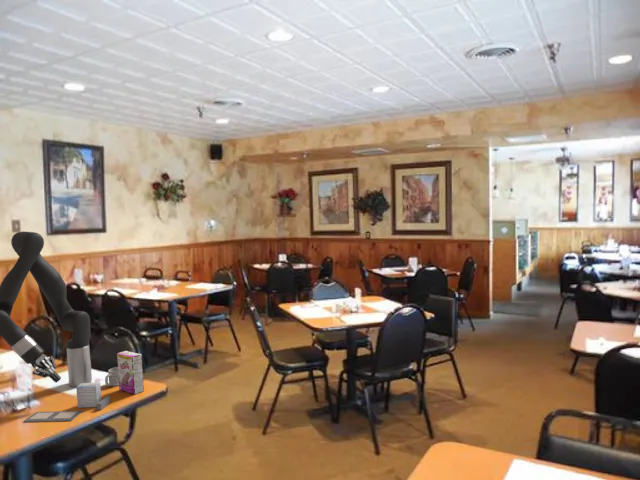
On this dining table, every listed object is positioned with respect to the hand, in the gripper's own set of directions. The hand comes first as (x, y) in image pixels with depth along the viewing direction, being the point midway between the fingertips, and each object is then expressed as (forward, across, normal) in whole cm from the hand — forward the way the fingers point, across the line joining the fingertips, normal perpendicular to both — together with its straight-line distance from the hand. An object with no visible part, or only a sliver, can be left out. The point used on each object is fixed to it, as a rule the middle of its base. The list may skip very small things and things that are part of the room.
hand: (58, 380), depth 200 cm
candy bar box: (+24, +10, -13) cm, 29 cm away
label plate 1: (+6, -13, +6) cm, 16 cm away
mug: (+19, +19, -4) cm, 27 cm away
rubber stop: (+18, -5, -10) cm, 22 cm away
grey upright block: (+15, -4, -5) cm, 17 cm away
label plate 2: (+11, -14, -1) cm, 18 cm away
